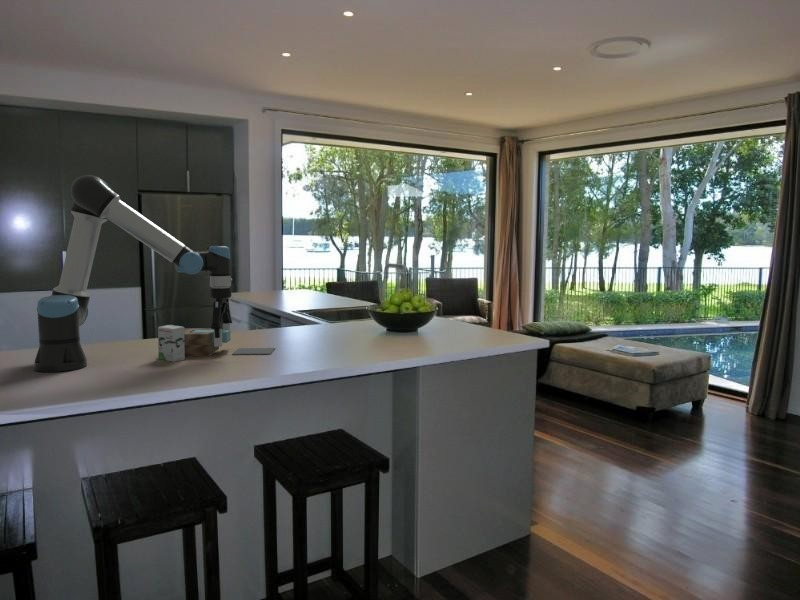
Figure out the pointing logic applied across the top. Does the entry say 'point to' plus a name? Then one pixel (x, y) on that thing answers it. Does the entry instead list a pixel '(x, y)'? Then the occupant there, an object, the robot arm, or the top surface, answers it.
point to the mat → (253, 351)
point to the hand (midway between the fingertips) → (222, 343)
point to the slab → (225, 335)
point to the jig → (198, 342)
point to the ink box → (171, 343)
